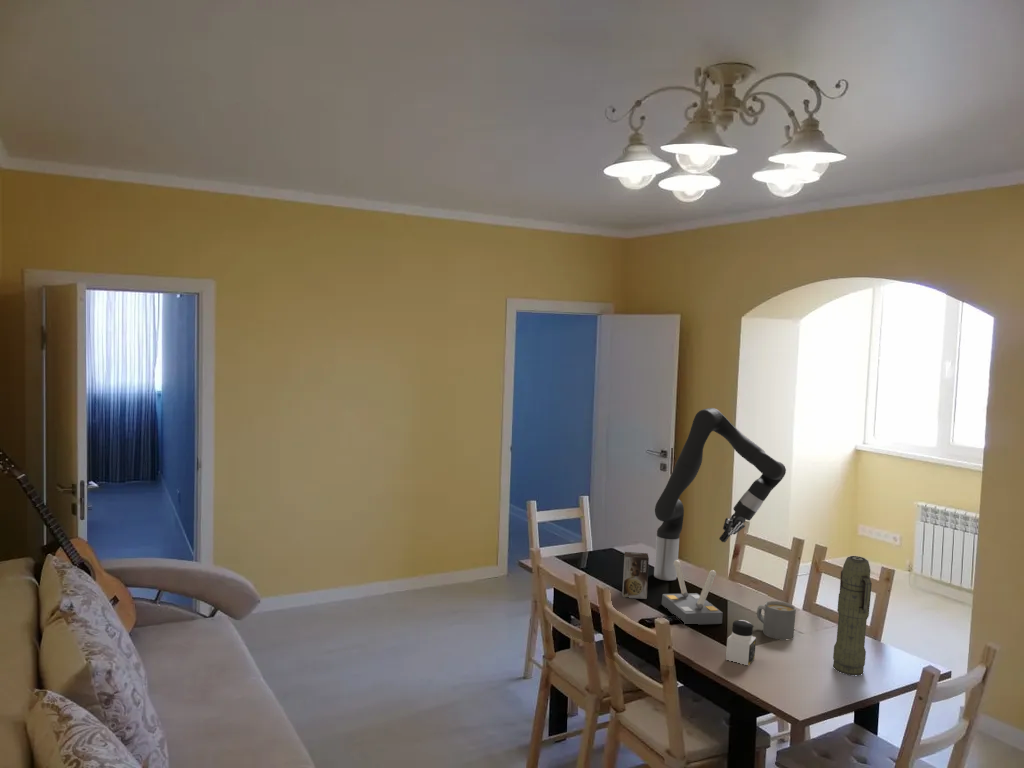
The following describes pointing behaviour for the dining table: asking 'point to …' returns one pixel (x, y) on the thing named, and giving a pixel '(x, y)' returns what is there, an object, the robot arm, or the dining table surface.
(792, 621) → the coffee mug
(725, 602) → the dining table surface
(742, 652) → the medicine bottle
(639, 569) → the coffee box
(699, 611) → the switch unit
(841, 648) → the thermos
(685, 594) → the switch
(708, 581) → the switch
